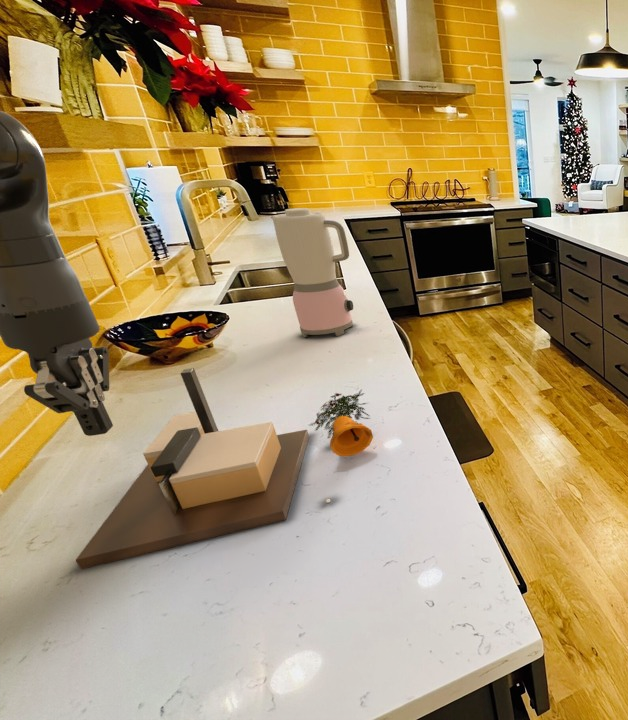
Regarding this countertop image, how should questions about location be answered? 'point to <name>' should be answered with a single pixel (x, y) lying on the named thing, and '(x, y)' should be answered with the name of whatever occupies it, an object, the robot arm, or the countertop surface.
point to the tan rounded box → (227, 465)
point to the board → (164, 530)
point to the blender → (314, 270)
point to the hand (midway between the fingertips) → (99, 432)
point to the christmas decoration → (345, 426)
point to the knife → (174, 462)
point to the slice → (170, 436)
